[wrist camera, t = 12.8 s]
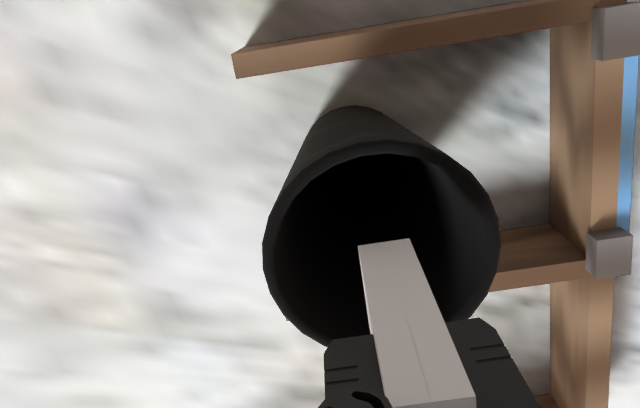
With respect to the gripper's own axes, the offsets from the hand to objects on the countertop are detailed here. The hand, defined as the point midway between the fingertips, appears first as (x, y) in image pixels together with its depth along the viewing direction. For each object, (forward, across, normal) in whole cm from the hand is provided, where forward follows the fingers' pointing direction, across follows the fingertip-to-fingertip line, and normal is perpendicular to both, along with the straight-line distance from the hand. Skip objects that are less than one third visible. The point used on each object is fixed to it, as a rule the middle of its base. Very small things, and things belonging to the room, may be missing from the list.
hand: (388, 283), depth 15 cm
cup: (+14, 0, 0) cm, 14 cm away
